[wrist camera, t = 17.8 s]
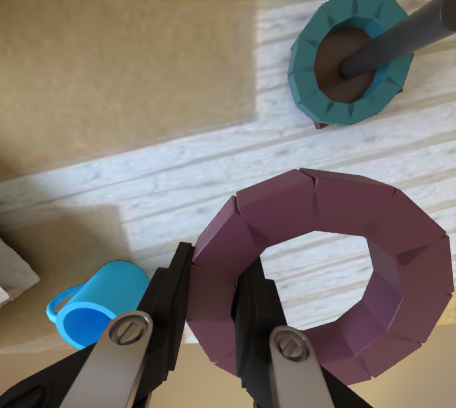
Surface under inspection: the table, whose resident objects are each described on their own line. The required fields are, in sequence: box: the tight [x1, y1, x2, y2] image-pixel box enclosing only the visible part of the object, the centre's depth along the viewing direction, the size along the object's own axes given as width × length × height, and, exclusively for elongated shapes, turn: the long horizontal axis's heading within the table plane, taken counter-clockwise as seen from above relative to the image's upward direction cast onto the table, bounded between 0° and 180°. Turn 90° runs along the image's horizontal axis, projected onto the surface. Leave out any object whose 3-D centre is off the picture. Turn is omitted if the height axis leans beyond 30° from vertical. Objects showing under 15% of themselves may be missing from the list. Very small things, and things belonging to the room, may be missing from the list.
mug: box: [46, 261, 149, 350], centre depth 29 cm, size 12×8×8 cm
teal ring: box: [288, 0, 414, 126], centre depth 21 cm, size 11×11×2 cm
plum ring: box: [186, 168, 454, 386], centre depth 10 cm, size 11×11×2 cm
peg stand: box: [291, 0, 456, 129], centre depth 18 cm, size 9×9×13 cm
